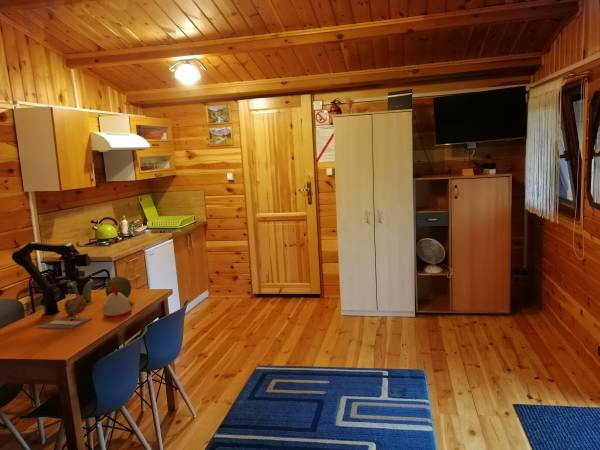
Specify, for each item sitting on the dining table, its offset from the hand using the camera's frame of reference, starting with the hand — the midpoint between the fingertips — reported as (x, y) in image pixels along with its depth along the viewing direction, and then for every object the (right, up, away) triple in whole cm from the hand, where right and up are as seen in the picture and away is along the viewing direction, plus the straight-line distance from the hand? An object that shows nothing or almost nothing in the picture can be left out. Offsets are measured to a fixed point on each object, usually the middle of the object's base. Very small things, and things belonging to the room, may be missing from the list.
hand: (73, 295), depth 254 cm
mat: (+4, -12, -17) cm, 21 cm away
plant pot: (-5, -7, +22) cm, 24 cm away
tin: (+1, -9, +1) cm, 10 cm away
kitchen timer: (+26, -9, -7) cm, 29 cm away
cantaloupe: (+20, -6, +12) cm, 25 cm away
